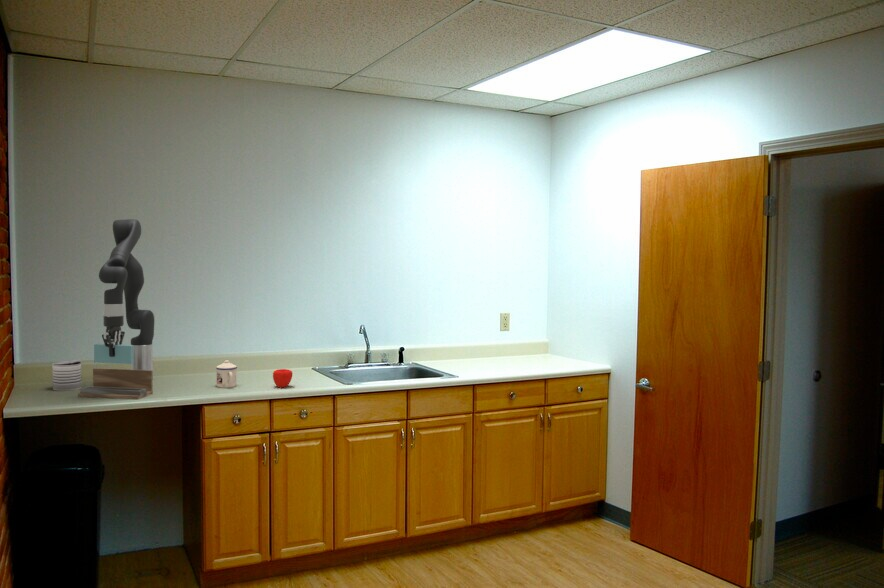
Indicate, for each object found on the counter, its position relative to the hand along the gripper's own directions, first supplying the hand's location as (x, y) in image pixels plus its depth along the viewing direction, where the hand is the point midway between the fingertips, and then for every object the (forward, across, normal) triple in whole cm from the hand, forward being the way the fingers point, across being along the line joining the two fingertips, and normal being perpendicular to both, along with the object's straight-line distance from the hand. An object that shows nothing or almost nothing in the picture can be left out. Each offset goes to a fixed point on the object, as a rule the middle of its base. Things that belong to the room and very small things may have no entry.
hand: (113, 356), depth 292 cm
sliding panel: (+3, 0, 0) cm, 3 cm away
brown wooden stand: (+17, -2, 0) cm, 17 cm away
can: (+17, -11, -28) cm, 35 cm away
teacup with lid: (+17, -29, +37) cm, 50 cm away
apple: (+17, -34, +61) cm, 72 cm away
